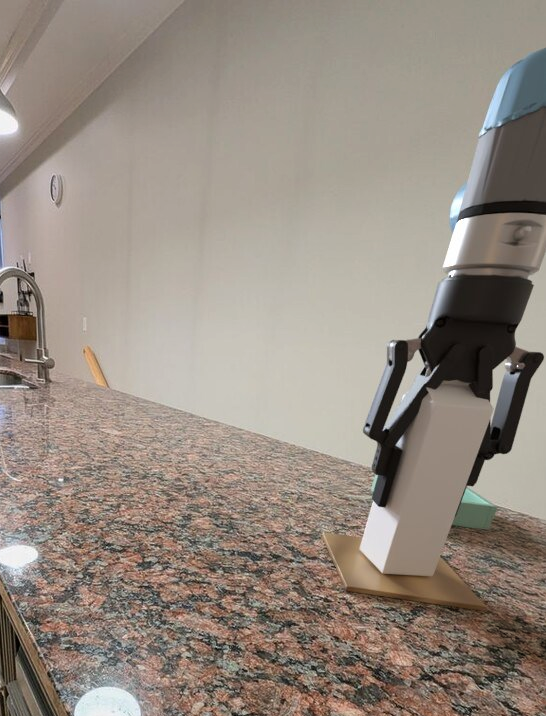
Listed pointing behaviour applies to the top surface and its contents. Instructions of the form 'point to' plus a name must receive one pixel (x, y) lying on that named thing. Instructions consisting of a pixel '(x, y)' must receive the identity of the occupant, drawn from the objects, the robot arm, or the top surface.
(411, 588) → the cork mat
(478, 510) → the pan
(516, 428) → the robot arm
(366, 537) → the milk
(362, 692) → the top surface
